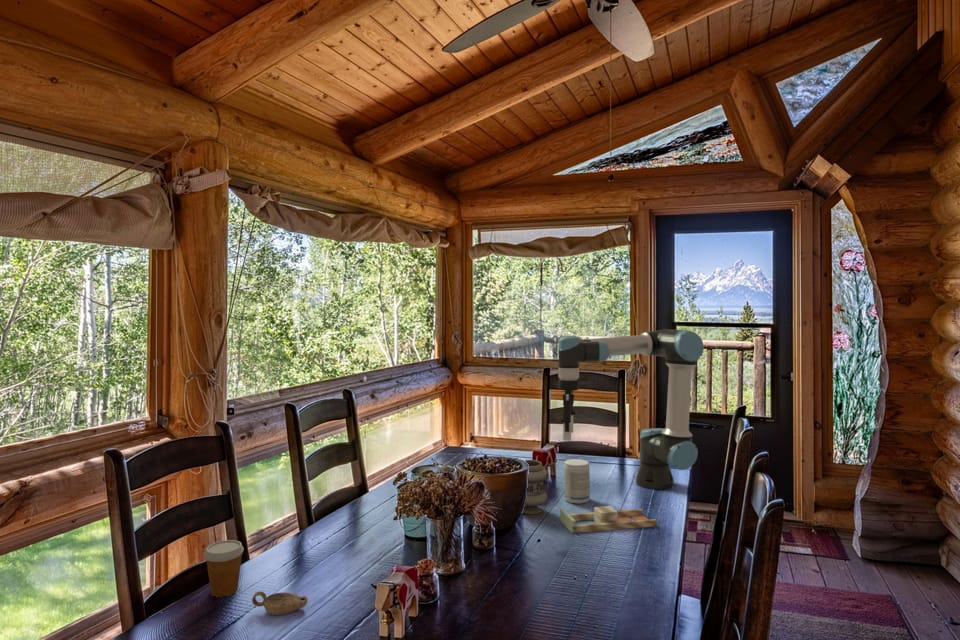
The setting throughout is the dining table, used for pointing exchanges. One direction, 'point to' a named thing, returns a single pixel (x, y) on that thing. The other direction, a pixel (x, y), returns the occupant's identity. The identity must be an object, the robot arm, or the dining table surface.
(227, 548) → the disposable coffee cup
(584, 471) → the supplement tub
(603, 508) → the birch block
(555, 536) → the dining table surface
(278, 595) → the oil lamp
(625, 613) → the dining table surface
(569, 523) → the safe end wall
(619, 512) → the channel rails
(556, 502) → the dining table surface
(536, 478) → the apothecary jar
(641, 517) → the trap pads
